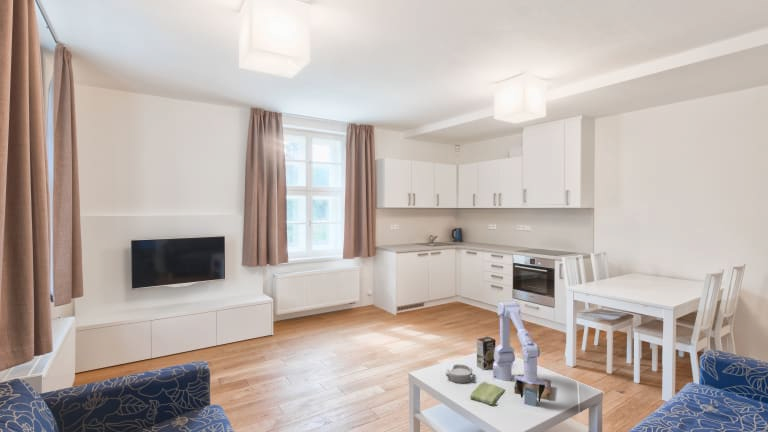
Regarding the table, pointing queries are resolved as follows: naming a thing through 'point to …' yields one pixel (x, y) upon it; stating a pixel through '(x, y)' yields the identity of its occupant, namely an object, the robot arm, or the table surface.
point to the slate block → (530, 396)
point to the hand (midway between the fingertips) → (530, 398)
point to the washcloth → (487, 393)
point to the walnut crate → (545, 393)
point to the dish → (460, 373)
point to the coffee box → (485, 352)
